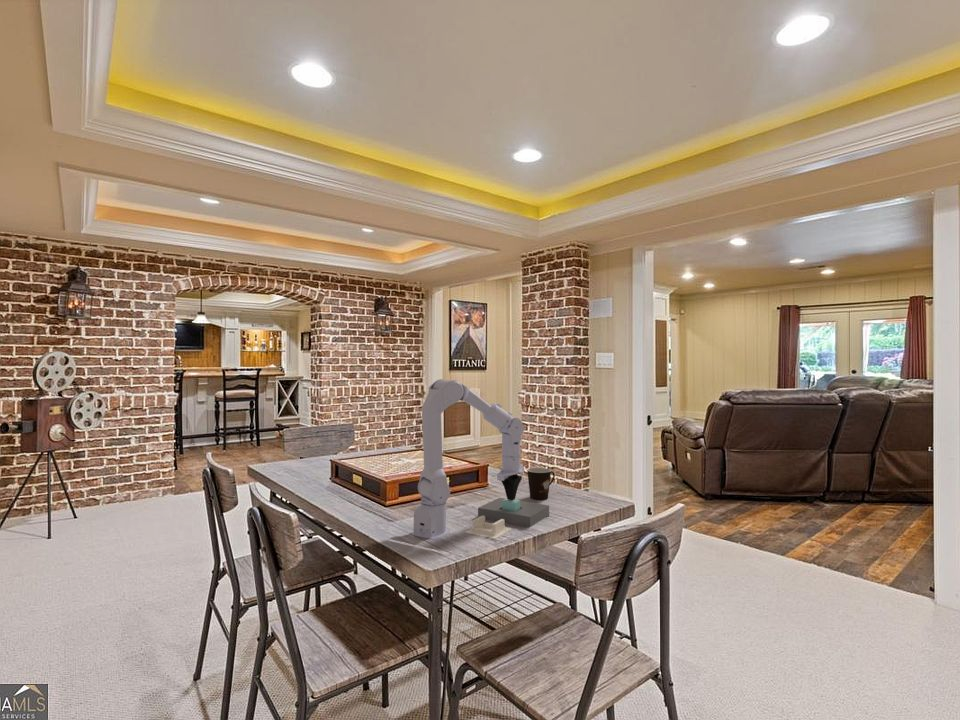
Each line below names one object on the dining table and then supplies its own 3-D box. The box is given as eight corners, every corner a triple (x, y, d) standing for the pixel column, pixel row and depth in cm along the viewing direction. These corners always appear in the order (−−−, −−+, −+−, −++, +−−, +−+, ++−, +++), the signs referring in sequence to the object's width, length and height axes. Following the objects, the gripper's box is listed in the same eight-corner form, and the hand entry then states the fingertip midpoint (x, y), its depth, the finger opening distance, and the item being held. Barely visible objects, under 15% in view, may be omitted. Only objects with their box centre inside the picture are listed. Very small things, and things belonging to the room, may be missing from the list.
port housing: (530, 528, 153) (530, 516, 153) (477, 518, 162) (477, 507, 162) (549, 516, 165) (549, 505, 165) (499, 508, 174) (499, 497, 174)
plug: (515, 522, 159) (515, 502, 159) (502, 520, 161) (502, 500, 161) (520, 519, 162) (520, 500, 162) (507, 517, 164) (507, 498, 164)
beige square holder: (495, 540, 143) (495, 527, 143) (464, 533, 148) (464, 521, 148) (511, 530, 152) (512, 518, 152) (482, 524, 157) (482, 512, 157)
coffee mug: (531, 501, 182) (531, 473, 182) (523, 495, 191) (524, 468, 191) (562, 499, 185) (562, 471, 185) (553, 493, 193) (553, 466, 193)
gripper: (511, 460, 154) (511, 506, 154) (532, 453, 166) (532, 495, 166) (491, 458, 157) (491, 503, 157) (513, 451, 170) (513, 492, 170)
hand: (511, 499), depth 162 cm, fingers closed
